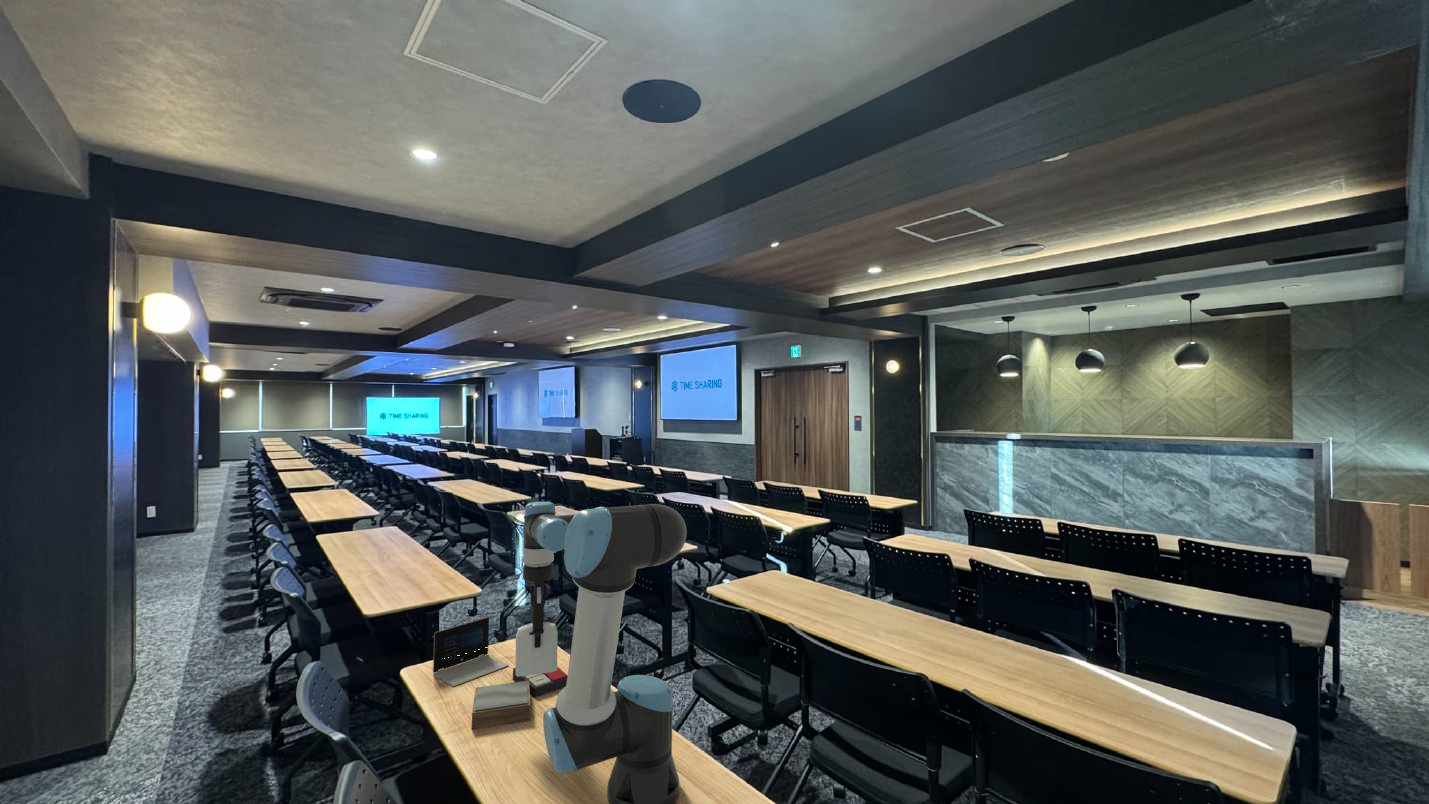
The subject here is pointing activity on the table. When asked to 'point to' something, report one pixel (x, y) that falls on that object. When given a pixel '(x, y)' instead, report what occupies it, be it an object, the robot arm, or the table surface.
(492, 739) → the table surface
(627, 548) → the robot arm
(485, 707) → the mirror
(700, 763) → the table surface
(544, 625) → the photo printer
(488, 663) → the laptop
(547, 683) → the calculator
